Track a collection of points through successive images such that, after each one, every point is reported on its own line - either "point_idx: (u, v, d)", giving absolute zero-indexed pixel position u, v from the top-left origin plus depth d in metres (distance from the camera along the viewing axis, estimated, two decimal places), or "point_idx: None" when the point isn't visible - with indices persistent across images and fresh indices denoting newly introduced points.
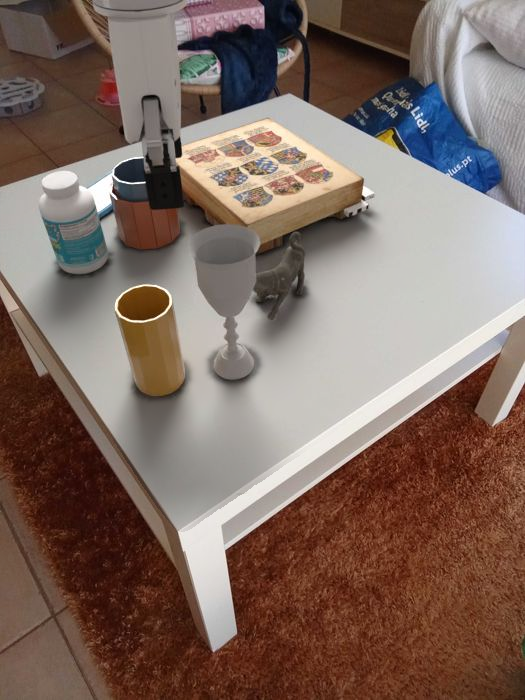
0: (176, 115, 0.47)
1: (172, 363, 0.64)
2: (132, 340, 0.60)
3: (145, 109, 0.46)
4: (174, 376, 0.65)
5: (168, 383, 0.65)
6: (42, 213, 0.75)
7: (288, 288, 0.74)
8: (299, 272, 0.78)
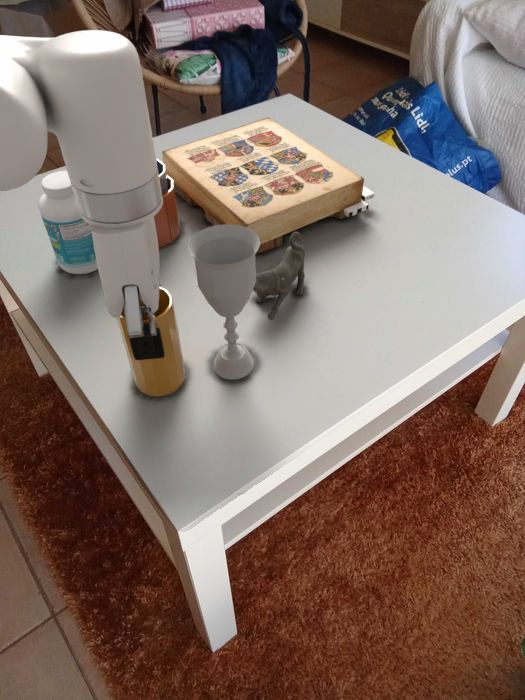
0: (153, 297, 0.53)
1: (172, 363, 0.64)
2: None
3: (126, 301, 0.52)
4: (174, 376, 0.65)
5: (168, 383, 0.65)
6: (42, 213, 0.75)
7: (288, 288, 0.74)
8: (299, 272, 0.78)
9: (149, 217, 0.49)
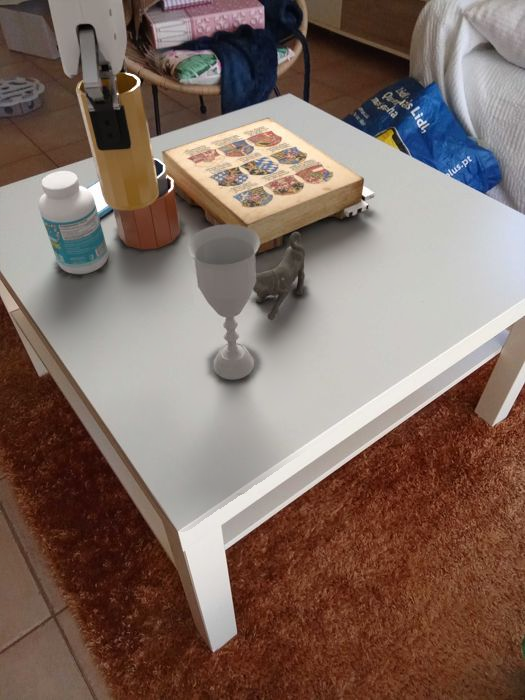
0: (112, 47, 0.47)
1: (142, 166, 0.58)
2: None
3: (82, 46, 0.46)
4: (145, 185, 0.59)
5: (138, 193, 0.59)
6: (42, 213, 0.75)
7: (288, 288, 0.74)
8: (299, 272, 0.78)
9: None
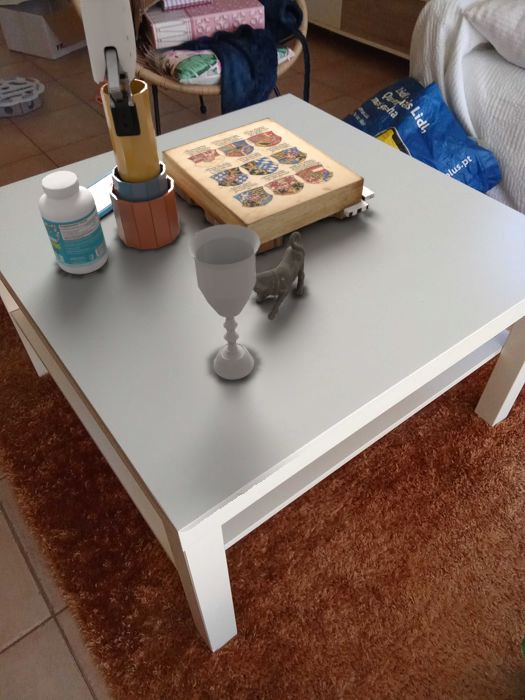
0: (129, 61, 0.67)
1: (148, 148, 0.77)
2: None
3: (107, 61, 0.66)
4: (150, 163, 0.79)
5: (146, 169, 0.79)
6: (42, 213, 0.75)
7: (288, 288, 0.74)
8: (299, 272, 0.78)
9: None
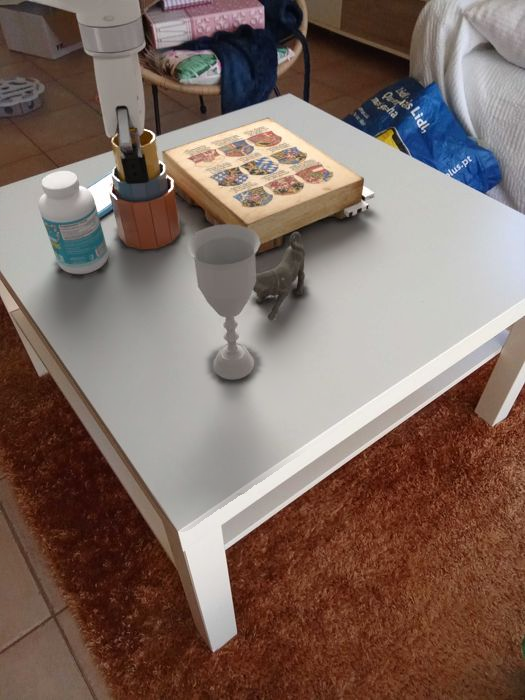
0: (139, 118, 0.72)
1: None
2: None
3: (119, 119, 0.71)
4: None
5: None
6: (42, 213, 0.75)
7: (288, 288, 0.74)
8: (299, 272, 0.78)
9: (135, 51, 0.68)
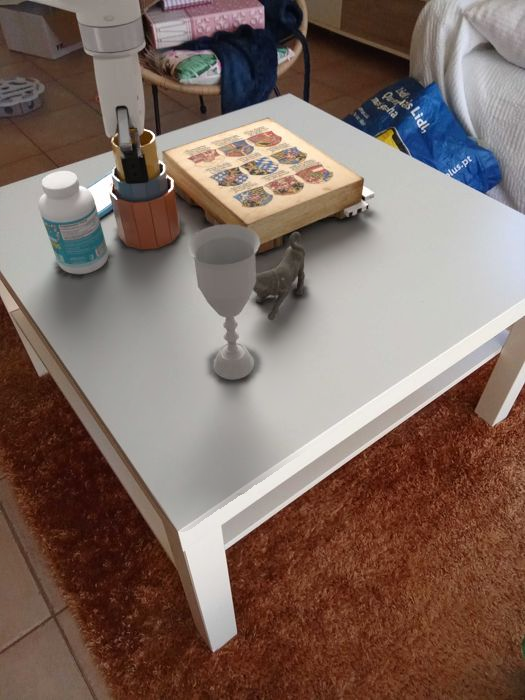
0: (138, 118, 0.72)
1: None
2: None
3: (119, 119, 0.71)
4: None
5: None
6: (42, 213, 0.75)
7: (288, 288, 0.74)
8: (299, 272, 0.78)
9: (135, 51, 0.68)
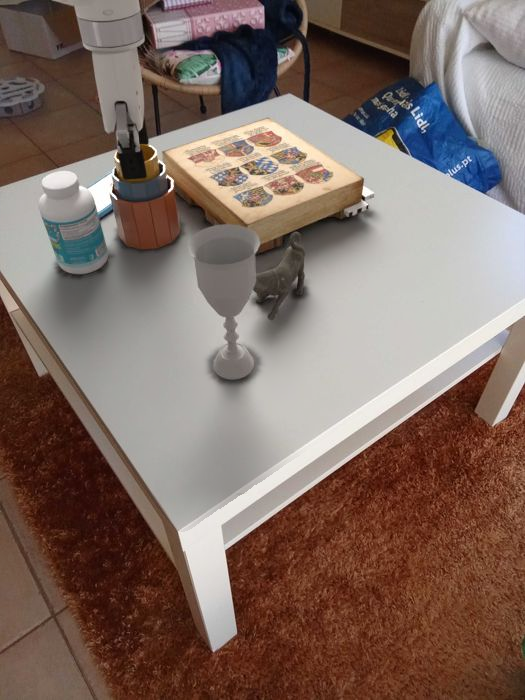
0: (138, 114, 0.71)
1: None
2: None
3: (117, 110, 0.70)
4: None
5: None
6: (42, 213, 0.75)
7: (288, 288, 0.74)
8: (299, 272, 0.78)
9: (134, 46, 0.68)
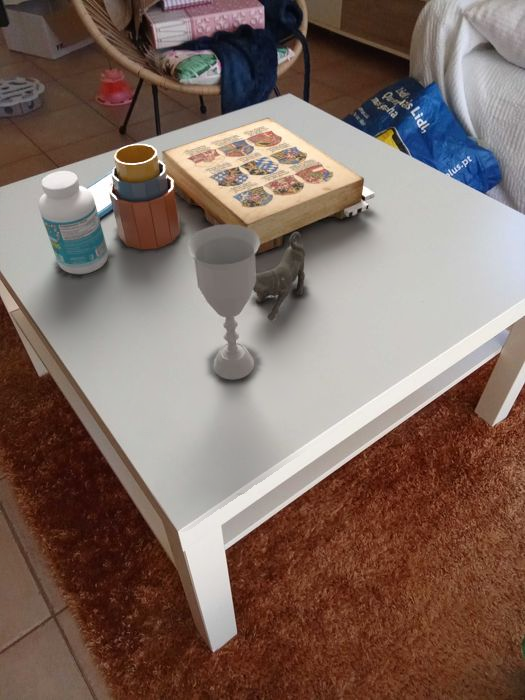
0: None
1: None
2: None
3: None
4: None
5: None
6: (42, 213, 0.75)
7: (288, 288, 0.74)
8: (299, 272, 0.78)
9: None
